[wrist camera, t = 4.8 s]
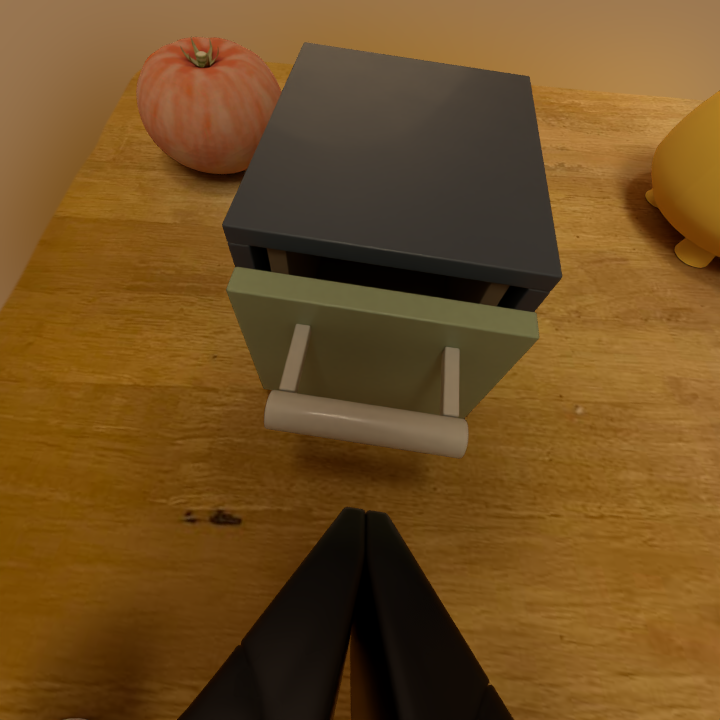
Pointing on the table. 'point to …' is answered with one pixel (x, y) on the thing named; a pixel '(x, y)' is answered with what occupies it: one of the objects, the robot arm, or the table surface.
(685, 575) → the table surface
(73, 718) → the pill bottle
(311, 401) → the drawer
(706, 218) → the teapot
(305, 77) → the cabinet
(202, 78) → the tomato
